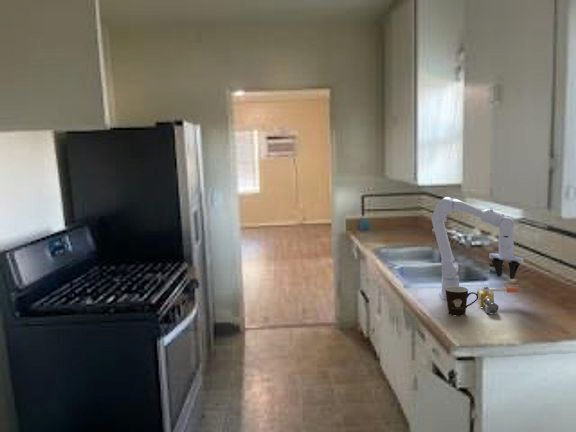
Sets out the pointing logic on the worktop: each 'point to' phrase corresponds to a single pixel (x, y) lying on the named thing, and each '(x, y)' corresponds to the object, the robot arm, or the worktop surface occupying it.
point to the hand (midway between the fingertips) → (505, 277)
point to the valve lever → (502, 289)
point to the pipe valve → (487, 301)
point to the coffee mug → (457, 300)
